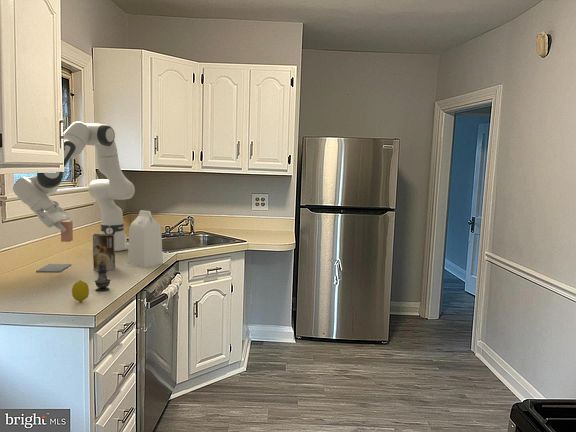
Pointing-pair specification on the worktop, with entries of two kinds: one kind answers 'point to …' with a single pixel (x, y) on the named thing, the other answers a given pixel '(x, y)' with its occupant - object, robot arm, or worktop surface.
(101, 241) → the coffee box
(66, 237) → the stub
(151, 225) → the milk
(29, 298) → the worktop surface
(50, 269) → the mat
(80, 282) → the lemon
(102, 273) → the dark ornate vase
